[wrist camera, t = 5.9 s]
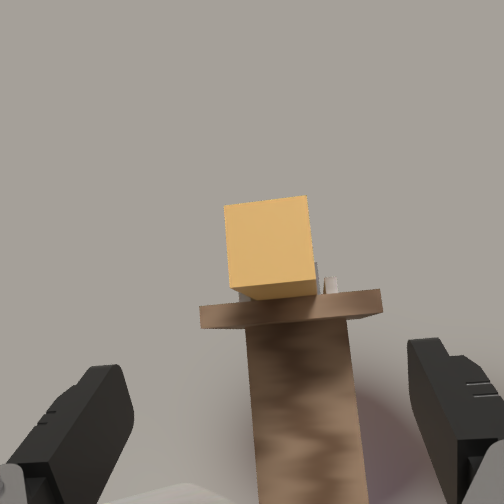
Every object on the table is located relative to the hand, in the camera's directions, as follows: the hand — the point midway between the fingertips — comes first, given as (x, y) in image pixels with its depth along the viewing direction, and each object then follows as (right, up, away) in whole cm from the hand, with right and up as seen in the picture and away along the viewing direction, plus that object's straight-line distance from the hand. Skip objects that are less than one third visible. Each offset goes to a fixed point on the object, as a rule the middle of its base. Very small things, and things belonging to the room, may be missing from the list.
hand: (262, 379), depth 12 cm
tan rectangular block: (+2, 0, +18) cm, 18 cm away
